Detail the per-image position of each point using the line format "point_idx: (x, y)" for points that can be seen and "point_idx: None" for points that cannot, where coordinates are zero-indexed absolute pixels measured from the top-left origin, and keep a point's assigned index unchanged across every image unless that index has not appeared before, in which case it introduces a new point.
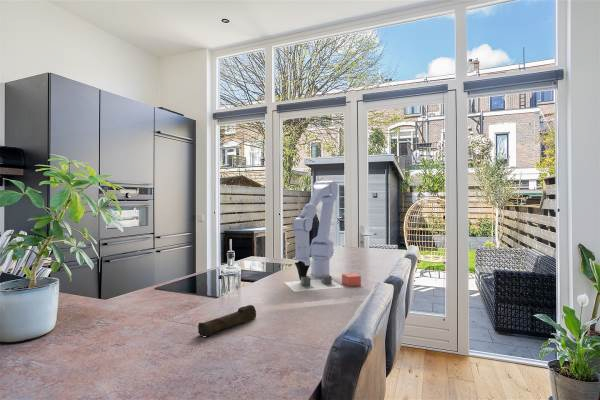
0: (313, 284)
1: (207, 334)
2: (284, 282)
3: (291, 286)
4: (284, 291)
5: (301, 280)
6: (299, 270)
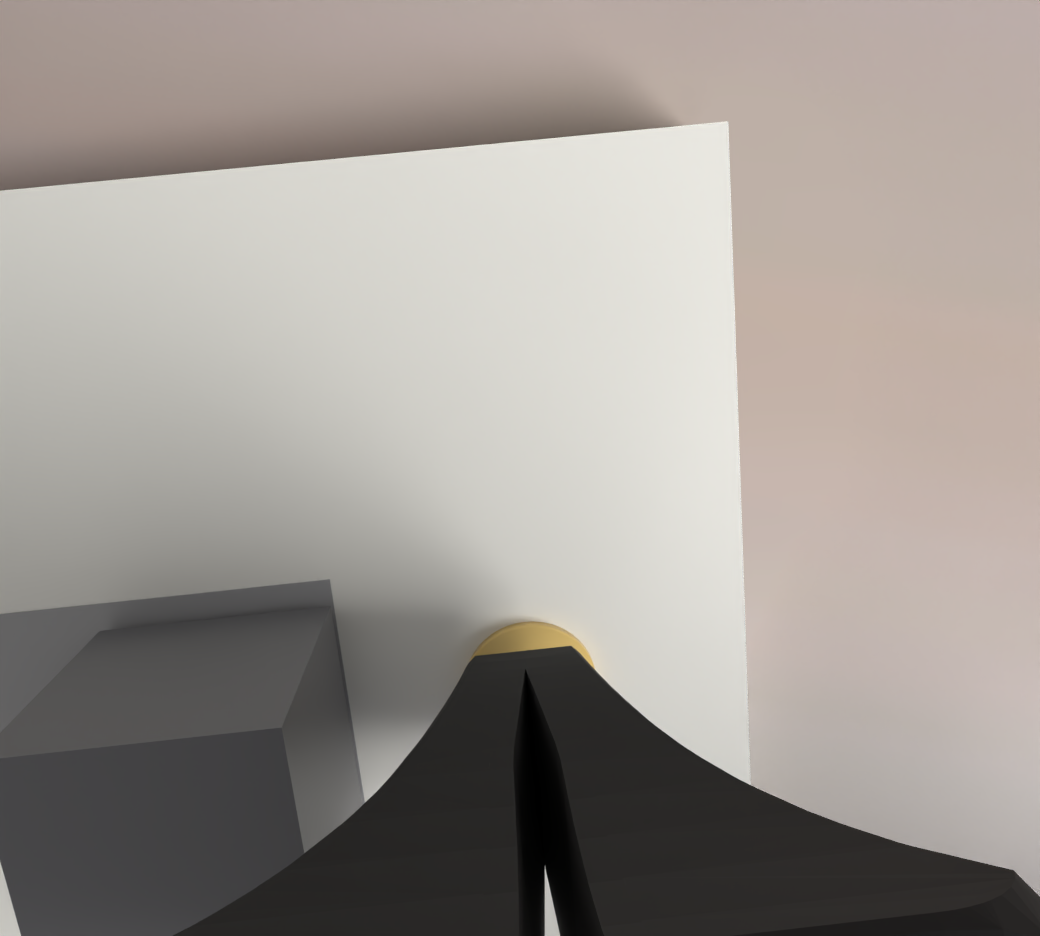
0: None
1: None
2: (697, 125)
3: (120, 269)
4: (79, 32)
5: (244, 666)
6: (327, 839)
